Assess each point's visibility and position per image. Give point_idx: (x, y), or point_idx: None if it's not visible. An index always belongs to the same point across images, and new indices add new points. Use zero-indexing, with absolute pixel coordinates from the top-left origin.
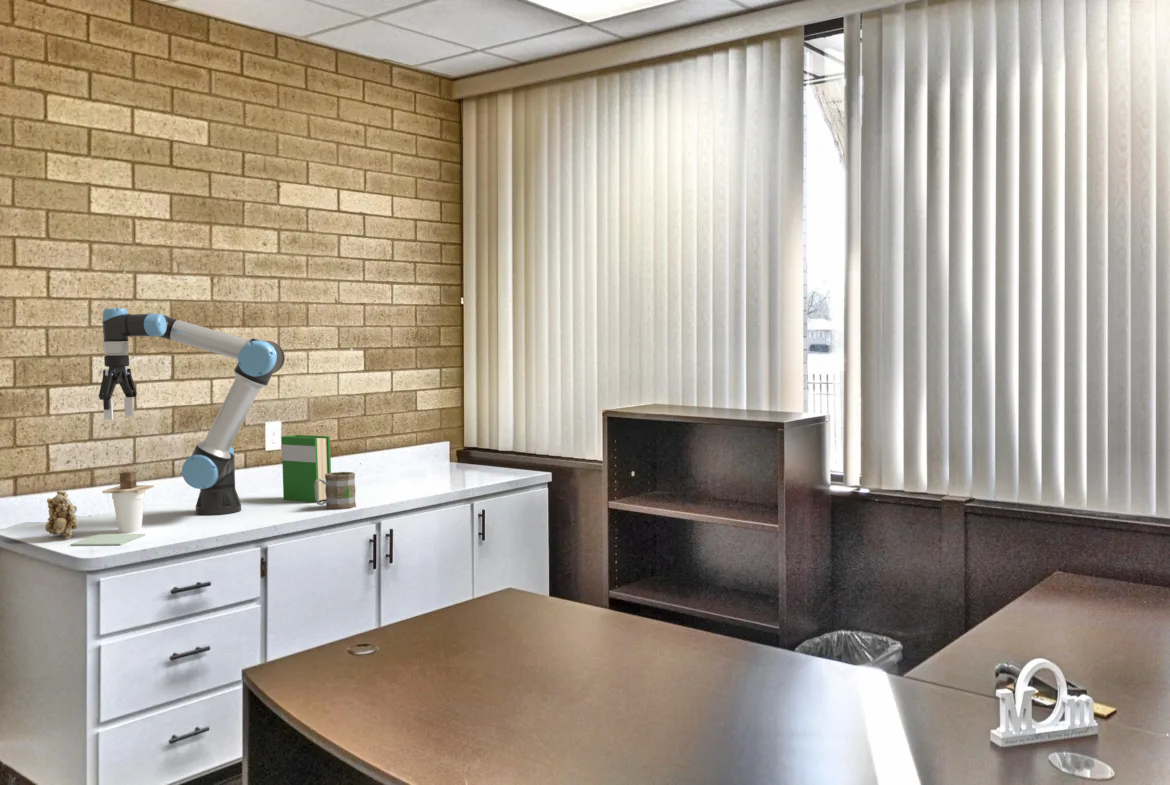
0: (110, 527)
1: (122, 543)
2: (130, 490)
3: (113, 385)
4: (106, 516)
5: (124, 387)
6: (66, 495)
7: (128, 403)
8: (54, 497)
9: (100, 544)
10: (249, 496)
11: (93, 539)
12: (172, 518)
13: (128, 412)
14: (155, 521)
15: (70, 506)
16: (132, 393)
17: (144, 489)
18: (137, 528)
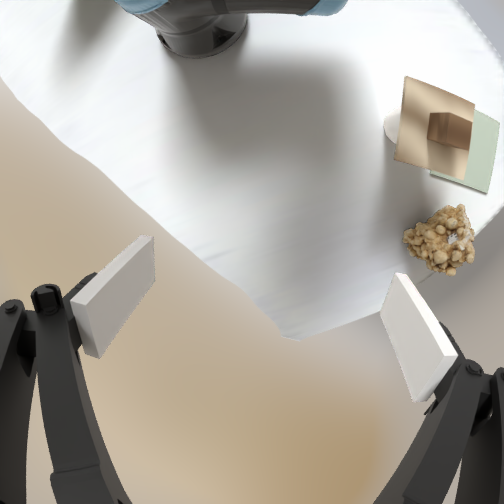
0: (354, 174)
1: (495, 120)
2: (473, 118)
3: (455, 470)
4: (222, 225)
5: (95, 425)
6: (461, 246)
7: (116, 303)
8: (461, 264)
9: (495, 150)
10: (51, 54)
11: (468, 168)
12: (271, 80)
13: (143, 272)
14: (303, 103)
15: (470, 225)
16: (49, 323)
17: (446, 92)
18: None
